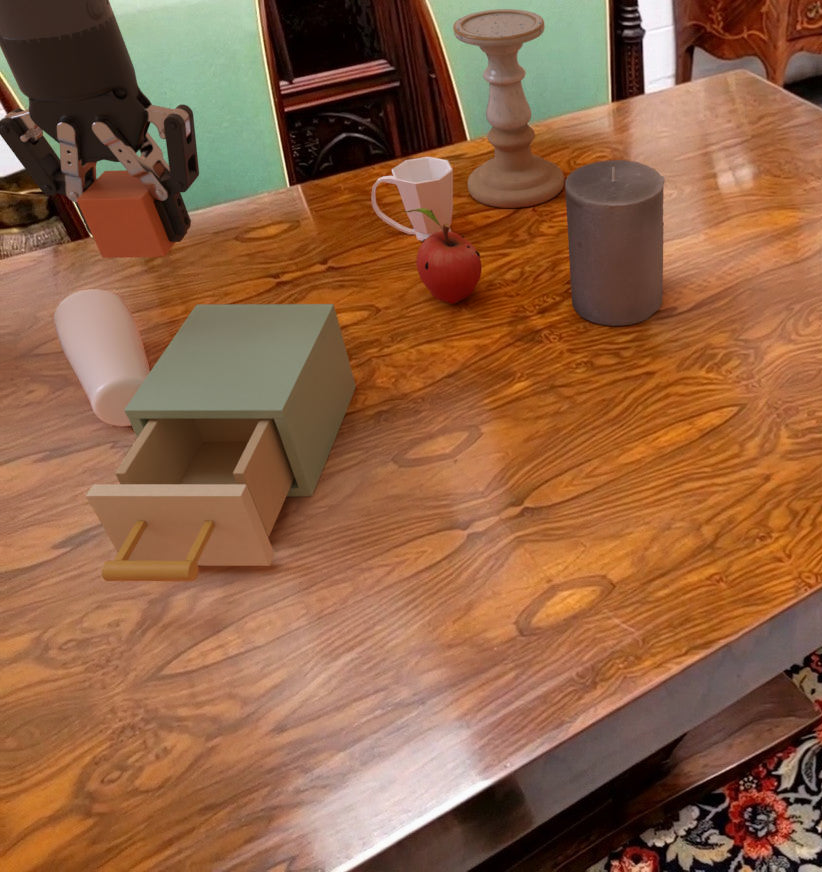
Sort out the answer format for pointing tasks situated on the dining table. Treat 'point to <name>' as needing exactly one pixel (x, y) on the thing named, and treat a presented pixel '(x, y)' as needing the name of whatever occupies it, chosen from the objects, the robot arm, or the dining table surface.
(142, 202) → the block
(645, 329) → the dining table surface
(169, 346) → the cabinet
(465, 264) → the apple
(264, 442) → the drawer
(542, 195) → the candle holder
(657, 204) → the pillar candle
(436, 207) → the cup
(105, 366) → the drinking glass
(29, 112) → the robot arm
